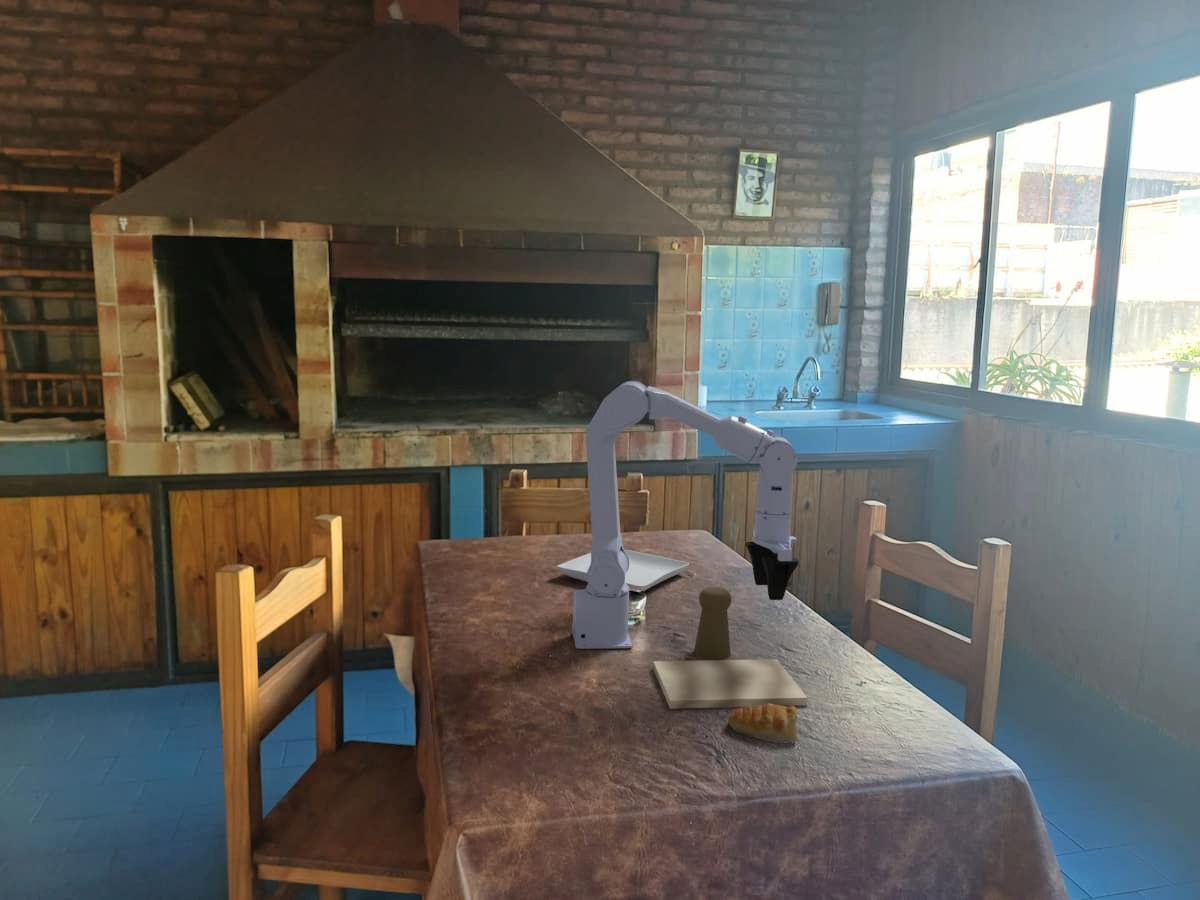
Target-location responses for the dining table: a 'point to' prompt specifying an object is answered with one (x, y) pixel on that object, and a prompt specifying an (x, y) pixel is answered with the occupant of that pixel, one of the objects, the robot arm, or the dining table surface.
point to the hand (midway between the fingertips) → (768, 591)
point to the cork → (713, 624)
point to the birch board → (727, 683)
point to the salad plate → (631, 569)
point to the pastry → (766, 722)
